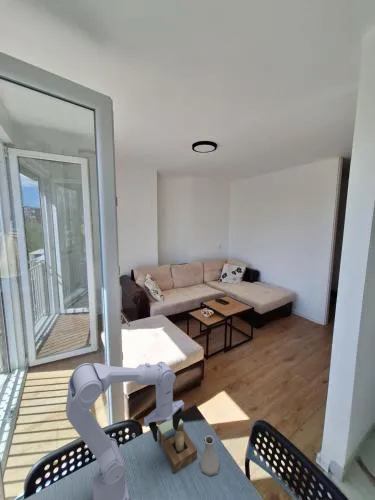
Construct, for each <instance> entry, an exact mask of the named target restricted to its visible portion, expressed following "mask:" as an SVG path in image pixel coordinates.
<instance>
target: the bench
mask: <svg viewBox="0 0 375 500" xmlns="http://www.w3.org/2000/svg"><path fill="white" fill-rule="evenodd" d="M184 426H185V425H184V421H183V420H182V418H181V420H180V422H179V425H178V428H177V431H176V432H178V431H183V430H185V429H184ZM157 427H158V431H157V438H158V442H159V443H161V448H162V449H163V442H164V441H166V435H167V434H168V433H170V432H172V431H175V429H174V428H173V421H172V420H170V421H166V420H165V421H164V422H163V423H160V424H159V425H158V424H157Z"/></svg>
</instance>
